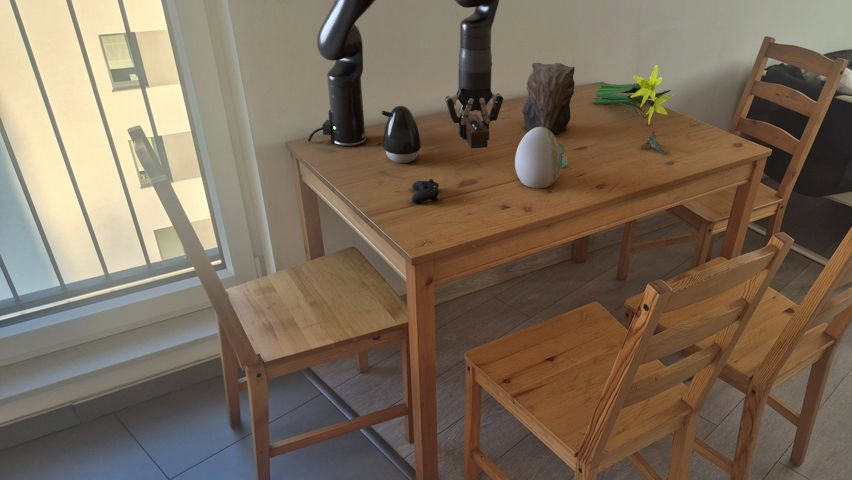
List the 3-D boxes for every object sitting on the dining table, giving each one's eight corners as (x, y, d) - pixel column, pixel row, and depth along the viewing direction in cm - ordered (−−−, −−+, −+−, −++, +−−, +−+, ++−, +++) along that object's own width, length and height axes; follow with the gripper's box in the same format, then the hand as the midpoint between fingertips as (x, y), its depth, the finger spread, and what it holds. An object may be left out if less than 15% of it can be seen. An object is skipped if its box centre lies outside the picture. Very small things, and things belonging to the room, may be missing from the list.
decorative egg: (567, 189, 176) (572, 134, 168) (522, 193, 173) (525, 137, 165) (550, 171, 186) (555, 118, 178) (508, 174, 183) (510, 121, 175)
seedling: (552, 177, 195) (557, 174, 188) (532, 158, 194) (536, 154, 187) (569, 159, 195) (574, 155, 189) (549, 140, 194) (554, 135, 188)
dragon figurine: (676, 145, 203) (655, 130, 205) (673, 144, 196) (651, 128, 198) (662, 163, 205) (642, 148, 207) (658, 162, 198) (637, 146, 200)
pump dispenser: (379, 155, 191) (376, 102, 183) (414, 150, 195) (413, 98, 187) (389, 168, 183) (386, 114, 175) (425, 164, 187) (424, 110, 179)
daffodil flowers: (622, 99, 245) (695, 101, 216) (597, 127, 242) (668, 132, 213) (601, 61, 236) (674, 57, 208) (574, 89, 233) (645, 88, 204)
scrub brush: (488, 148, 160) (489, 127, 157) (470, 149, 159) (471, 128, 156) (476, 130, 169) (477, 110, 167) (459, 131, 168) (459, 111, 166)
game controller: (410, 184, 173) (427, 169, 171) (425, 198, 175) (442, 183, 174) (409, 201, 165) (426, 185, 163) (425, 215, 167) (442, 199, 165)
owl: (519, 126, 215) (523, 62, 204) (551, 120, 221) (556, 57, 211) (544, 139, 206) (549, 73, 196) (576, 132, 213) (582, 67, 202)
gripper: (500, 60, 159) (497, 130, 169) (440, 63, 156) (441, 134, 165) (509, 69, 153) (506, 141, 163) (447, 72, 150) (448, 145, 159)
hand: (473, 137), depth 164 cm, fingers closed on scrub brush, 4 cm apart
